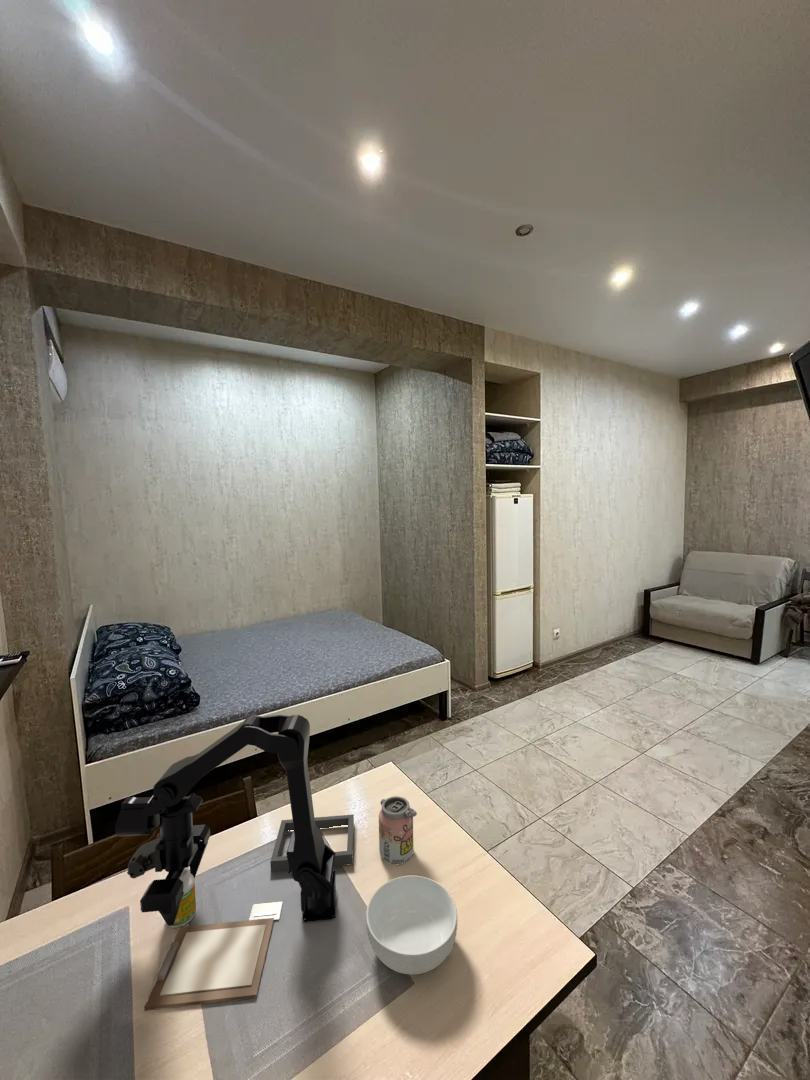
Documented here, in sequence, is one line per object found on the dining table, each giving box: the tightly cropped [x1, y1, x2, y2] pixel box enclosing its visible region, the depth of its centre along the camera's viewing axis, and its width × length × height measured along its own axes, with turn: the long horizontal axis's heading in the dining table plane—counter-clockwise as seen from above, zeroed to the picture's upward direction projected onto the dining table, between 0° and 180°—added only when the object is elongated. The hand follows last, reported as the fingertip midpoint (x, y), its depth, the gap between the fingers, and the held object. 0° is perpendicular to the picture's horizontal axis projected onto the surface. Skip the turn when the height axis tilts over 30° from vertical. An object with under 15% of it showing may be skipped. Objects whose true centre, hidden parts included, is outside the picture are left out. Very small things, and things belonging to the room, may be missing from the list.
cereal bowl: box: [365, 874, 458, 976], centre depth 82 cm, size 17×17×7 cm
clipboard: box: [143, 918, 275, 1011], centre depth 80 cm, size 18×14×2 cm
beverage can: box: [378, 795, 418, 865], centre depth 104 cm, size 9×8×12 cm
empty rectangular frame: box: [270, 813, 355, 873], centre depth 107 cm, size 18×13×2 cm
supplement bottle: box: [168, 866, 197, 929], centre depth 88 cm, size 5×5×10 cm
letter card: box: [248, 901, 283, 922], centre depth 89 cm, size 6×4×1 cm, turn 95°
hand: (180, 903), depth 89 cm, fingers open, 9 cm apart
